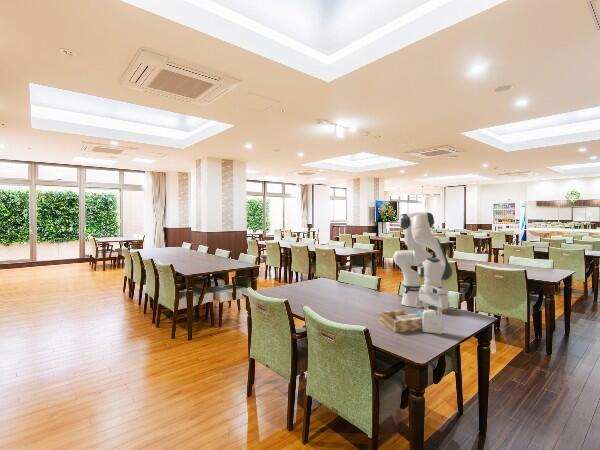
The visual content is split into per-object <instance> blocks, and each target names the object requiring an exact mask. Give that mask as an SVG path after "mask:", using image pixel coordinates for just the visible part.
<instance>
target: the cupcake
mask: <svg viewBox="0 0 600 450" xmlns="http://www.w3.org/2000/svg"><path fill="white" fill-rule="evenodd" d="M449 307H451V303H450V302H449V305H448V308H447V309H443V310H442V311H441V312H442V314H447V313H448V310H449ZM436 310H437V311H438V309H437V308H436Z"/></svg>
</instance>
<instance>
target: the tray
mask: <svg viewBox="0 0 600 450" xmlns="http://www.w3.org/2000/svg"><path fill="white" fill-rule="evenodd" d="M423 312H424V311H421V310H419V309H418V310H416V313H412V314H406V315H398V316H395V320H396V321H397V320H407V319H418V318H423Z"/></svg>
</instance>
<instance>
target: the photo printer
mask: <svg viewBox="0 0 600 450" xmlns="http://www.w3.org/2000/svg"><path fill="white" fill-rule="evenodd" d="M422 312H423V323H422V330H421V331H422V332H423V333H430V334H437V335H438V334H439V335H442V334H443V324H444V323H443V319H444V318H443V317H444V316H443V313H442V312H441V315H440V316H438V315H436V312H437V309H429V310H425V309H424V310H423V311H422Z"/></svg>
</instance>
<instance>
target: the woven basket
mask: <svg viewBox="0 0 600 450" xmlns="http://www.w3.org/2000/svg"><path fill="white" fill-rule="evenodd" d="M398 315H407V310H406V309H402V310H388V311H379V312H378V321H377V322H378V323H379V324H381V325H382V326H384V327H386V328H387V329H389V330H390V331H392V332H394V333H404V332H414V331H422V323H423V318H418V319H407V320H397V321H396V320H395V316H398Z"/></svg>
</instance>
